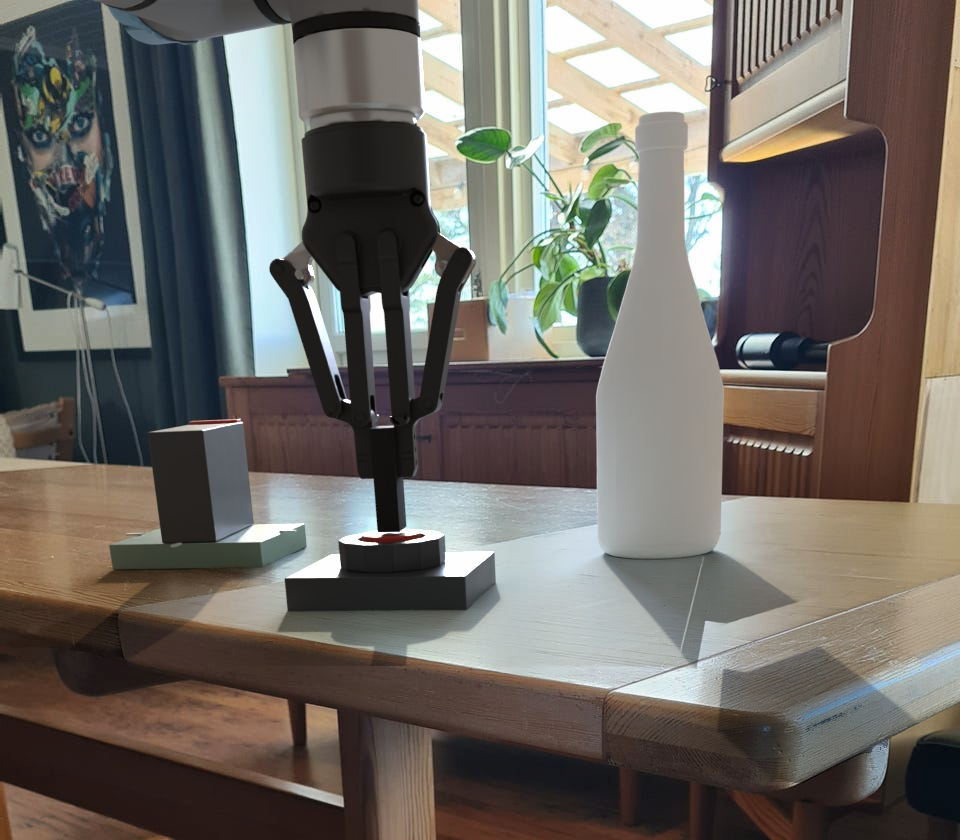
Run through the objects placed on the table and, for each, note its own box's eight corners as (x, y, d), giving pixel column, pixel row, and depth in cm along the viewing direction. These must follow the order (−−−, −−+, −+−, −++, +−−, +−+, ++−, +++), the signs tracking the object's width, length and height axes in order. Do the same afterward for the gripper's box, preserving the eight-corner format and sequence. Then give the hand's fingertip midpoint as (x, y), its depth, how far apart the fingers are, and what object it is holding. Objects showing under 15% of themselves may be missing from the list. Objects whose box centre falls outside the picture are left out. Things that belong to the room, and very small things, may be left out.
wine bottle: (647, 539, 107) (648, 130, 96) (744, 547, 100) (757, 110, 89) (572, 555, 100) (565, 119, 89) (671, 564, 94) (676, 97, 83)
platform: (88, 574, 103) (83, 546, 102) (167, 546, 117) (163, 521, 116) (266, 571, 100) (263, 543, 99) (326, 543, 114) (324, 518, 113)
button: (356, 564, 85) (353, 537, 84) (372, 555, 88) (370, 529, 88) (414, 564, 84) (413, 536, 83) (428, 554, 87) (427, 528, 87)
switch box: (287, 612, 84) (281, 550, 82) (333, 585, 93) (328, 528, 91) (466, 611, 81) (463, 546, 80) (496, 583, 90) (493, 525, 89)
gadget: (216, 541, 102) (202, 426, 99) (161, 543, 103) (146, 429, 100) (254, 523, 112) (242, 418, 109) (204, 525, 113) (192, 421, 110)
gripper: (478, 128, 79) (495, 518, 88) (273, 143, 81) (309, 525, 90) (463, 108, 72) (483, 533, 81) (240, 124, 74) (282, 540, 83)
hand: (392, 529), depth 85 cm, fingers closed
